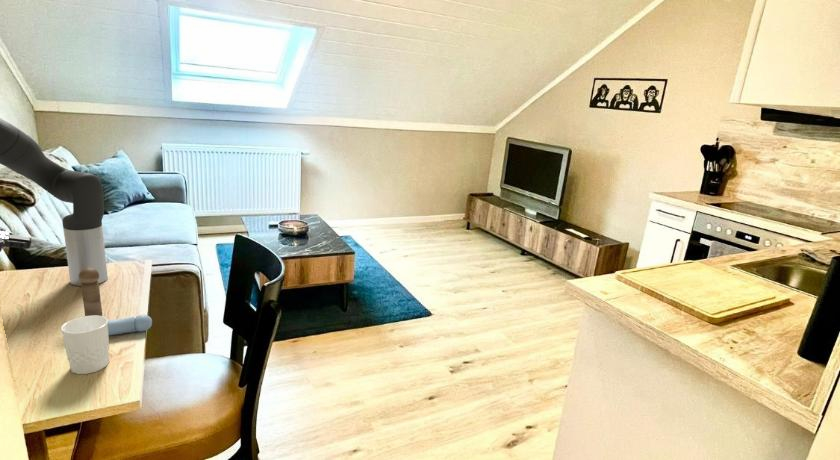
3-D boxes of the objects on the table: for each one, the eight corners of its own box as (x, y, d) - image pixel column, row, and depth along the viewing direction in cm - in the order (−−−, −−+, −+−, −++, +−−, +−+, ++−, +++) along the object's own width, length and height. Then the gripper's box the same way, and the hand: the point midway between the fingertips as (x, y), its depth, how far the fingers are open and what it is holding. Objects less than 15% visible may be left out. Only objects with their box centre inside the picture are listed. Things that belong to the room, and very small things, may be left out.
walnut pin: (84, 315, 116) (78, 266, 112) (104, 312, 118) (99, 264, 115) (83, 322, 113) (76, 272, 109) (103, 319, 115) (97, 270, 111)
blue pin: (84, 319, 107) (151, 310, 113) (86, 335, 108) (152, 325, 115) (82, 328, 103) (151, 317, 110) (84, 343, 104) (152, 333, 111)
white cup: (77, 381, 91) (71, 337, 89) (60, 366, 95) (54, 324, 92) (119, 364, 98) (115, 323, 95) (101, 351, 102) (97, 311, 99)
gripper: (-91, 228, 81) (33, 242, 93) (-76, 198, 90) (35, 215, 102) (-98, 263, 83) (25, 273, 95) (-83, 231, 92) (27, 243, 104)
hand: (30, 243), depth 98 cm, fingers closed
